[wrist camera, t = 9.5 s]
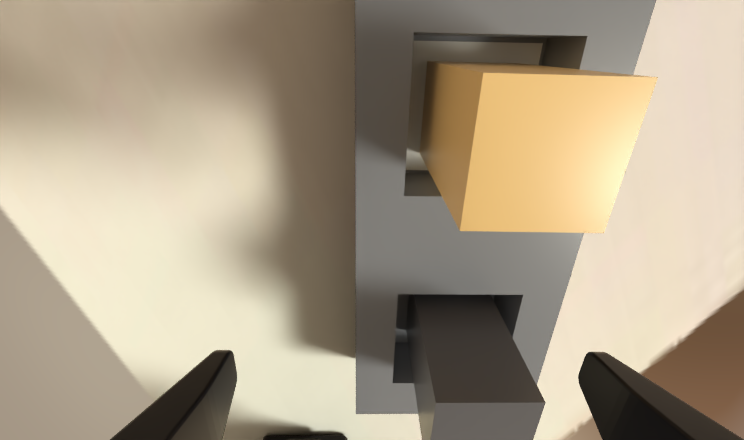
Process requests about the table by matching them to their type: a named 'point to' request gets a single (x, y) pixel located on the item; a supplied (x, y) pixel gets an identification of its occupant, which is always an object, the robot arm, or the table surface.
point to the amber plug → (530, 143)
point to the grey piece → (419, 192)
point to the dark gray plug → (469, 371)
